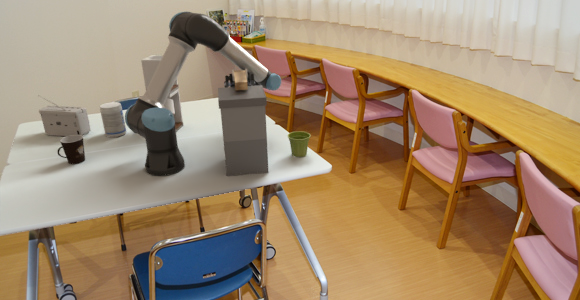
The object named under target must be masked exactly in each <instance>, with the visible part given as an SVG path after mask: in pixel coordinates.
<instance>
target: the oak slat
mask: <svg viewBox="0 0 580 300" xmlns="http://www.w3.org/2000/svg"><path fill="white" fill-rule="evenodd" d="M234 79H235V89H236V90H248V85H247V78H246V74H245V70H241V69H240V70H234Z"/></svg>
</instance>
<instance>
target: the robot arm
mask: <svg viewBox="0 0 580 300" xmlns="http://www.w3.org/2000/svg"><path fill="white" fill-rule="evenodd" d="M168 27H169V28H168V29H169V34H168V36H167V39H168V41H169V43H168V45H167V46H166V49H165V51H164V53H163V54H162V55H163V57H162V59H161V61H160V63H159V65H158V67H157V69H156V71H155V74H154V76H153V78H152V80H151V82H150V84H149V86H148V88H147V90H146V89H145V91H144V95H142V96H138V98H137V100H136V101H135V103H134V104H131V105H129V107H128V108H127V109H126V111H125V115H124V122H125V125H126V126H127V127H128V128H129V130H130V131H131V132H133V133H134V134H137V135H139V136H141V137H142V138H144V139H145V145H146V151H147V153H146V158H145V162H144V163H145V164H144V168H145V172H146V173H147V174H148V175H150V176H155V177H163V176H170V175H174V174H177V173H179V172H180V171H182V170H184V169H185V166H186V164H185V159H184V157H183V154H182V153H181V150H180V149H179V146H178V136H177V132H176V129H175V119H174V116H173V113H172V112H171V111H170V110H168V109H166V108H165V107H164V103H165V101H166V99H167V97H168V95H169V93H170V91H171V89H172V87H173V85H174V83H175V81H176V79H178V76H179V75H180V72H181V70H182V68H183V66H184V64H185V62H186V60H187V57H188V55H189V54H190V53H193V52H195V50H196V48H197V47H198V44H199V45H202V46H205V47H207V48H209V49H210V50H211V51H213V53H214V52H215V53H217V52H218V53H219V54H221V55H222V56H223V57H224V58H226V59H227V60H228V61H229V62H231V63H232V64H233V65H235V67H238V68H239V69H240V71H241V70H245V74H246V78H247V85H248V86H257V85H262V86H263V89H266V90H268V91H276V90H277V91H278V90H279V89H280V87H281V85H282V78H281V76H280V75H279V74H277V73H275V72H272V71H270V70H269V69H268V68H267V67H266V66H264V65H263V64H262V63H261V62H260V61H259V60H257V59H256V57H254V55H251V54H250V53H249V52H248V51H247V49H245V48H243V47H242V46H241V45H240V44H238V42H236V41H235V40H234V39H233V38H232V37H230V36H231V35H230V32H229V31H227V29H225V28H224V27H223V26H222V25H220V24H219V23H218V22H217V21H216V20H214V19H213V18H212V17H211V16H209V15H207V14H204V13H197V12H191V11H181V12H177V13H175V14H174V15H173V16H172V17H171V19H170V21H169V25H168ZM234 71H235V69H234V68H233V69H231V73H229V75H225V76H224V79H225V81H224V83H223V84H224V85H223V86H224V88H226V87H235V79H234Z"/></svg>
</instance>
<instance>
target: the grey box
mask: <svg viewBox="0 0 580 300" xmlns="http://www.w3.org/2000/svg"><path fill="white" fill-rule="evenodd" d="M264 89H265V88H263V86H262V85H257V86H248V90H236V89H235V87H230V86H229V87H226V88H225V87H218V88H217V90H218V91H217V94H218V95H217V99H218V109H220V117H221V118H220V119H221V128H222V129H221V130H222V140H223V149H224V150H223V151H224V161H225V172H226V173H225V174H226V177H232V176H244V175H254V174H256V175H257V174H265V173H269V172H270V171H269V157H268V152H269V150H268V135H267V133H268V132H267V116H266V115H267V114H266V106H267V105H268V104H267V101H268V100H267V96H266V93H265V90H264Z"/></svg>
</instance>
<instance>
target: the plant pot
mask: <svg viewBox="0 0 580 300" xmlns="http://www.w3.org/2000/svg"><path fill="white" fill-rule="evenodd" d="M287 138H288V141H289V145H290V150H291V155H292V157H295V158H300V157H301V158H303V157H307V154H308V148H309V140H310V139H311V133H309V132H307V131H292V132H289V133H288V134H287Z"/></svg>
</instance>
